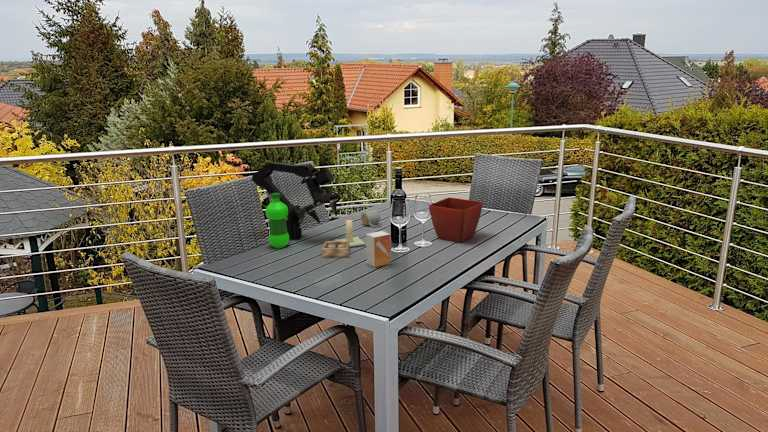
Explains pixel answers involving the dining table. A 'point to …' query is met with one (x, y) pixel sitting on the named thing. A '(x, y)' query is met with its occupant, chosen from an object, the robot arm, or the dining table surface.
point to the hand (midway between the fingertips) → (328, 219)
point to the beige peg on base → (351, 236)
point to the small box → (378, 248)
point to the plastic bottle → (277, 222)
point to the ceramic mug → (371, 218)
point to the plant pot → (455, 218)
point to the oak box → (336, 249)
